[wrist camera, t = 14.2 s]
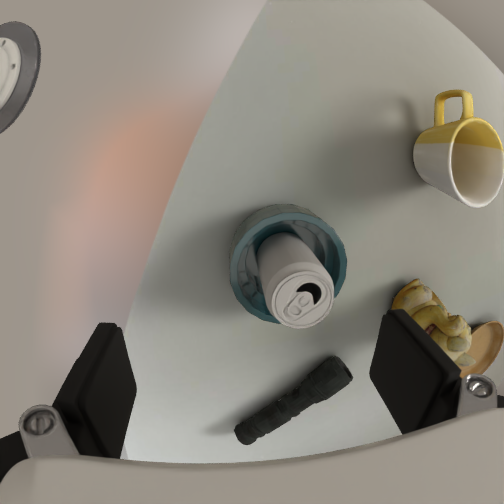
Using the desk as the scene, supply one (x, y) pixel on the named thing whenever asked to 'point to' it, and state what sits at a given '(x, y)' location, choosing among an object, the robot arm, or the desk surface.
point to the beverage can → (294, 281)
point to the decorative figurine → (436, 321)
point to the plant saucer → (484, 347)
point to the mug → (461, 154)
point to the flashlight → (296, 400)
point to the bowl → (270, 223)
